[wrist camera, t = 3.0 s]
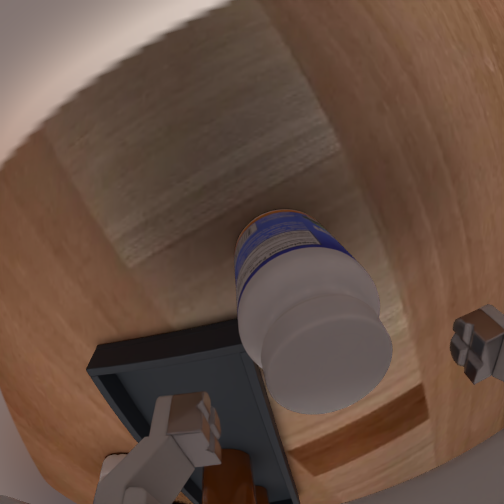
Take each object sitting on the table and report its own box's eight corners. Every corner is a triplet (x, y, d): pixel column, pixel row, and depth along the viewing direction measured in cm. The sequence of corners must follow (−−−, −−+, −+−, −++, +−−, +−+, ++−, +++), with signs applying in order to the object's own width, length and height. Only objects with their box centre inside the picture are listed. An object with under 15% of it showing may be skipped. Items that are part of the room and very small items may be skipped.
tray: (298, 494, 29) (301, 511, 26) (215, 506, 29) (215, 523, 26) (244, 316, 19) (247, 342, 17) (97, 345, 19) (85, 369, 16)
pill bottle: (340, 272, 18) (422, 382, 9) (258, 311, 19) (285, 446, 10) (306, 189, 17) (400, 257, 7) (214, 233, 17) (207, 348, 8)
